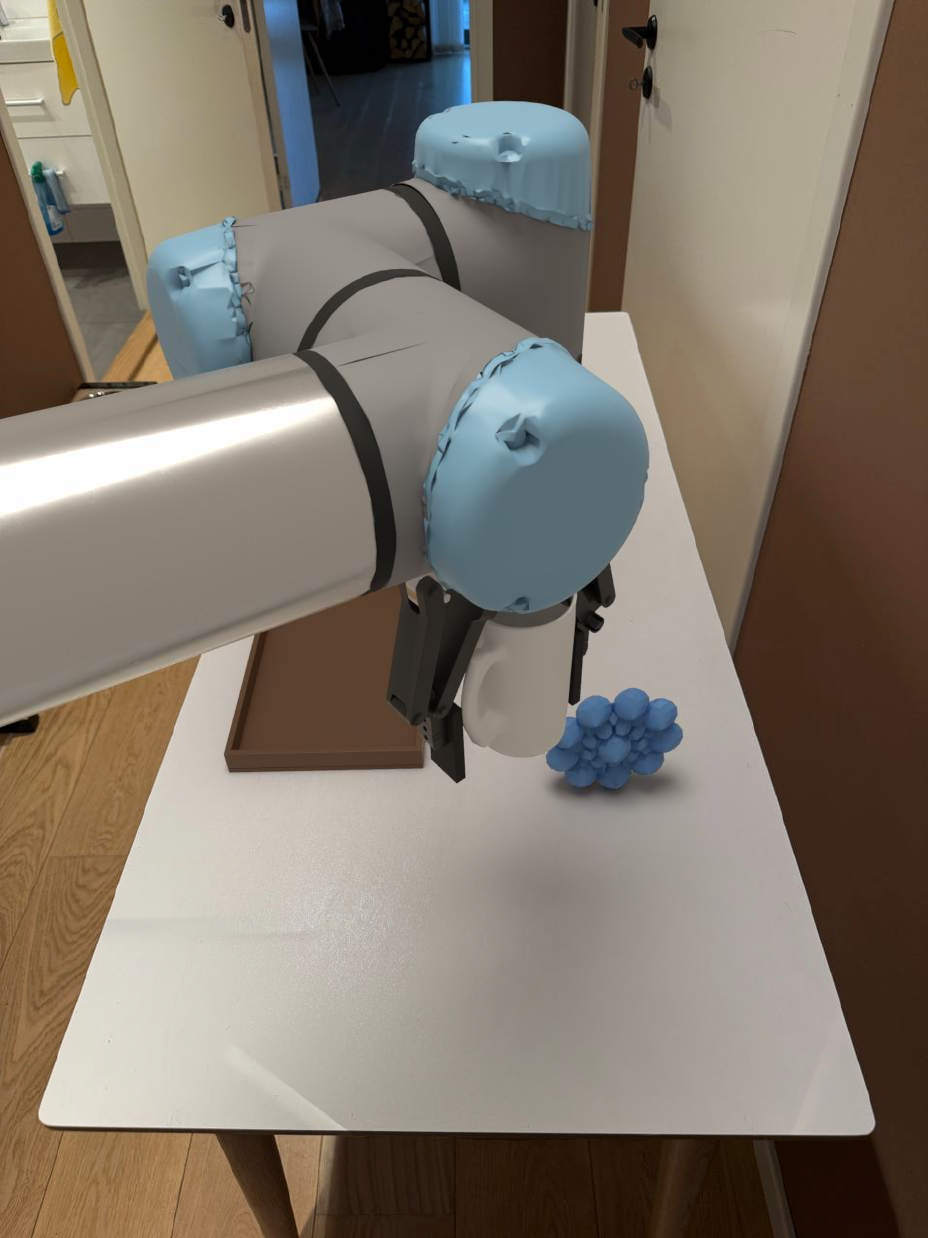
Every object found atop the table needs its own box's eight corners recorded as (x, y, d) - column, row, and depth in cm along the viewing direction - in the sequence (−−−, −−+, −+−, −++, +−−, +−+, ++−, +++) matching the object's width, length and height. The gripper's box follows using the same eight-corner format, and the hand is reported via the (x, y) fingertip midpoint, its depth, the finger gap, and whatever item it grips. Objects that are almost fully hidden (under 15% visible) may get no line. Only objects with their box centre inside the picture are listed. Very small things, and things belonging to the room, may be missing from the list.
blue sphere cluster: (666, 746, 87) (681, 653, 79) (678, 805, 82) (696, 711, 74) (542, 749, 87) (544, 656, 79) (546, 807, 82) (550, 715, 74)
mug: (506, 677, 68) (505, 547, 60) (586, 713, 65) (597, 581, 57) (425, 766, 62) (413, 635, 54) (510, 811, 59) (509, 678, 51)
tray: (423, 768, 86) (421, 750, 84) (228, 772, 86) (223, 754, 85) (432, 572, 108) (431, 555, 106) (277, 576, 108) (273, 559, 106)
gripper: (604, 353, 56) (584, 629, 70) (284, 492, 45) (340, 781, 60) (702, 396, 51) (659, 681, 66) (372, 562, 41) (409, 856, 56)
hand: (507, 729), depth 63 cm, fingers closed on mug, 10 cm apart
